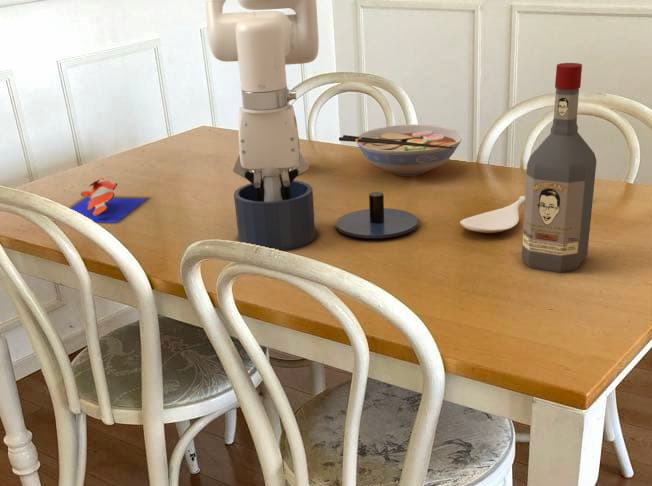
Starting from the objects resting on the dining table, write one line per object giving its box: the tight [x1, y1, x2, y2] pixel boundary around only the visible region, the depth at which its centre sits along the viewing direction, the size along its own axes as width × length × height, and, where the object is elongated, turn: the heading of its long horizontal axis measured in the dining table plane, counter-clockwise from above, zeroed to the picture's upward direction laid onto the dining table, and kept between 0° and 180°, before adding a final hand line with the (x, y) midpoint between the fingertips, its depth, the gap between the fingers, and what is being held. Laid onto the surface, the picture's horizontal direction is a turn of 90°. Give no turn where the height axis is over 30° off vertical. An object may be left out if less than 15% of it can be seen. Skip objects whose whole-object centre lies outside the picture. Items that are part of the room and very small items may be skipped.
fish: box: [80, 177, 118, 217], centre depth 174 cm, size 13×5×9 cm
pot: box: [233, 179, 316, 251], centre depth 155 cm, size 14×14×8 cm
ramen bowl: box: [338, 124, 464, 177], centre depth 187 cm, size 25×23×8 cm
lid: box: [335, 191, 419, 239], centre depth 158 cm, size 15×15×6 cm
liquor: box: [521, 62, 598, 273], centre depth 134 cm, size 9×9×30 cm
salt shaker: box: [261, 166, 283, 202], centre depth 154 cm, size 6×6×13 cm
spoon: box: [459, 195, 525, 234], centre depth 161 cm, size 9×32×4 cm, turn 135°
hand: (274, 206), depth 155 cm, fingers closed on salt shaker, 3 cm apart
